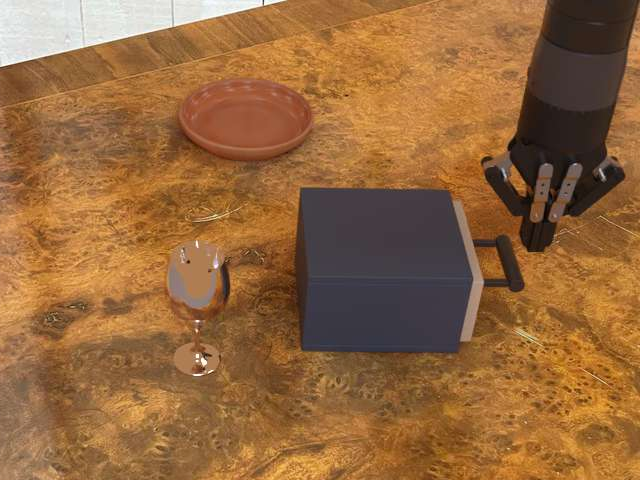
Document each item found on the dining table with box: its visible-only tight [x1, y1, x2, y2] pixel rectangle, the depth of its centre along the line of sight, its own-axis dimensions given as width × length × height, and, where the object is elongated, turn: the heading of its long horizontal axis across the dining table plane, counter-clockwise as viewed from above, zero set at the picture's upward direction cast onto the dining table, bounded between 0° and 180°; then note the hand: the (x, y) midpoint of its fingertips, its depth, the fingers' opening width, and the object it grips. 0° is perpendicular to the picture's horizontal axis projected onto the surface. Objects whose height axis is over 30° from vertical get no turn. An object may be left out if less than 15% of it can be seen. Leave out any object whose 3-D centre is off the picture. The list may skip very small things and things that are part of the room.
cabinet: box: [294, 186, 474, 354], centre depth 102 cm, size 15×14×9 cm
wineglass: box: [163, 240, 231, 377], centre depth 94 cm, size 6×6×12 cm
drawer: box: [452, 200, 526, 343], centre depth 102 cm, size 18×12×7 cm
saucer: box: [178, 77, 315, 162], centre depth 127 cm, size 16×16×3 cm
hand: (533, 246), depth 100 cm, fingers closed
